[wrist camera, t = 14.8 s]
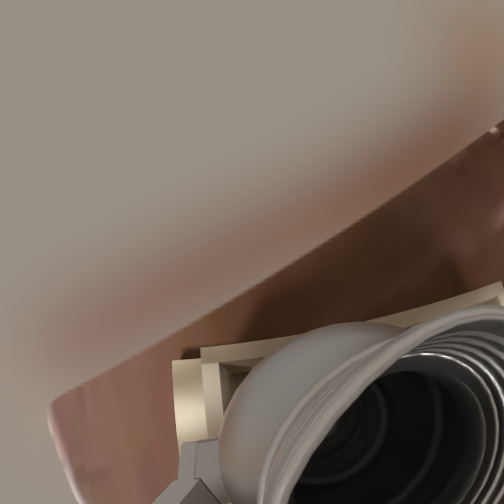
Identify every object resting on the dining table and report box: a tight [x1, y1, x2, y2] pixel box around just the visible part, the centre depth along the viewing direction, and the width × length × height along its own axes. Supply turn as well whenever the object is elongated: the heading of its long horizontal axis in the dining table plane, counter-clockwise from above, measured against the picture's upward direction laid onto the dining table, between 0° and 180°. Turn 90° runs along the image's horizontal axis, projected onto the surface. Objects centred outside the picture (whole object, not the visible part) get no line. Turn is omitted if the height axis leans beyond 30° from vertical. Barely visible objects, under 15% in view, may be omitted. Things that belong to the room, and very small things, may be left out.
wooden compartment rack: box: [172, 281, 504, 504], centre depth 14 cm, size 14×30×12 cm, turn 97°
